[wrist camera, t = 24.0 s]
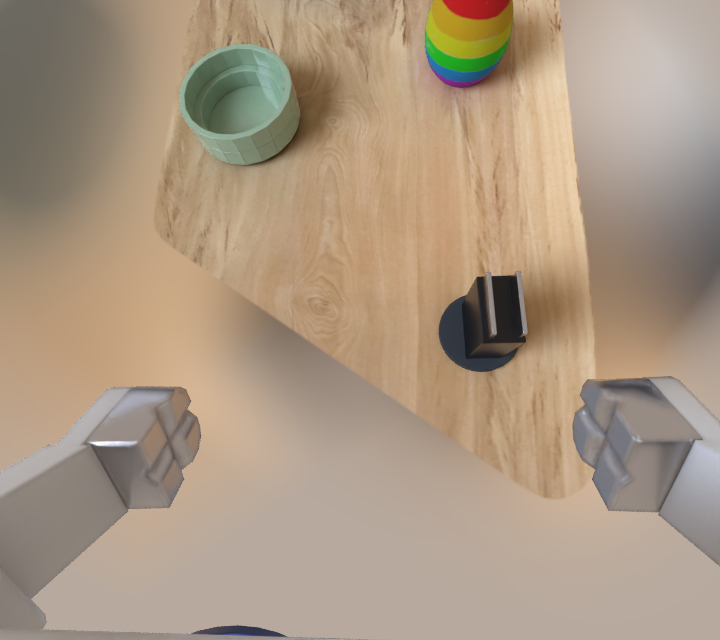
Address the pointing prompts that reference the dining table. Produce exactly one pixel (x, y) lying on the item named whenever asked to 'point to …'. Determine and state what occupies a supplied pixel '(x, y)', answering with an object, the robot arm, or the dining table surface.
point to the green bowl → (240, 103)
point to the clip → (494, 316)
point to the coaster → (455, 345)
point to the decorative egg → (467, 38)
